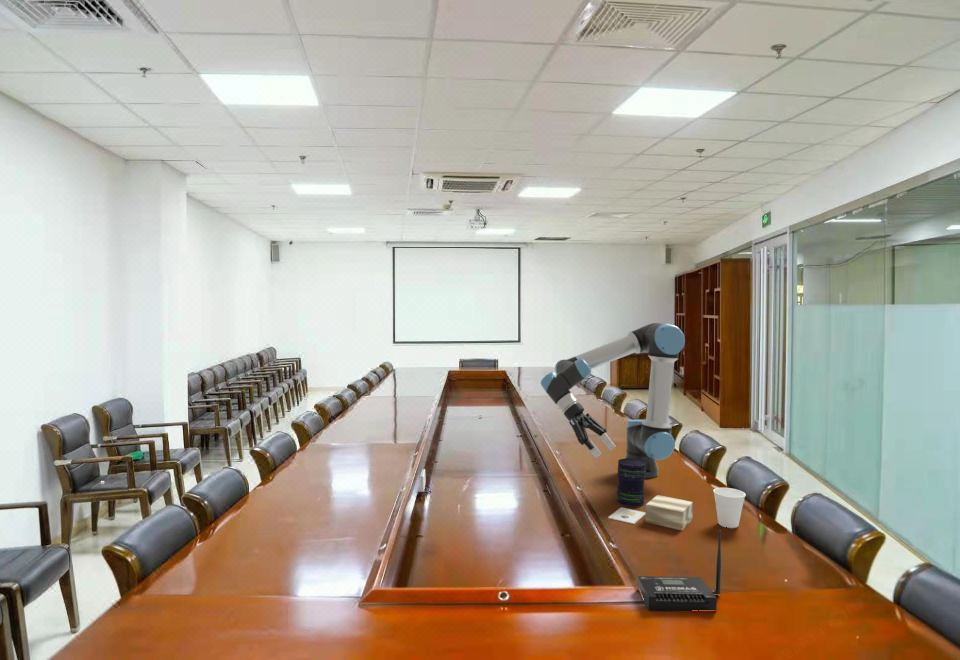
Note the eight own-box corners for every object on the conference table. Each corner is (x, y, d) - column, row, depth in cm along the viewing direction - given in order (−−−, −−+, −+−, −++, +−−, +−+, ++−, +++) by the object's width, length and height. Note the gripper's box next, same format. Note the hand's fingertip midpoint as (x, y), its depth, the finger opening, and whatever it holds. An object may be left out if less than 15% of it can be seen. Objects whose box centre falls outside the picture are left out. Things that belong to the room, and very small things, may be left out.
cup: (748, 532, 188) (749, 498, 187) (715, 529, 190) (716, 495, 189) (740, 520, 198) (741, 488, 197) (709, 518, 200) (710, 486, 199)
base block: (656, 511, 205) (657, 494, 205) (692, 519, 198) (693, 501, 198) (645, 522, 195) (645, 504, 195) (682, 530, 188) (682, 512, 188)
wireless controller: (650, 616, 137) (652, 544, 136) (635, 587, 151) (636, 522, 150) (736, 618, 137) (738, 546, 136) (713, 589, 151) (715, 523, 150)
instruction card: (621, 508, 208) (621, 507, 208) (646, 513, 203) (646, 512, 203) (608, 518, 199) (608, 517, 199) (633, 524, 193) (633, 522, 193)
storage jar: (614, 497, 220) (615, 458, 219) (640, 498, 220) (641, 458, 219) (619, 506, 210) (620, 465, 209) (647, 507, 210) (648, 466, 209)
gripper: (578, 409, 239) (612, 451, 231) (549, 418, 218) (585, 465, 210) (590, 397, 235) (625, 440, 228) (562, 405, 215) (599, 453, 207)
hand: (606, 452), depth 219 cm, fingers open, 13 cm apart
